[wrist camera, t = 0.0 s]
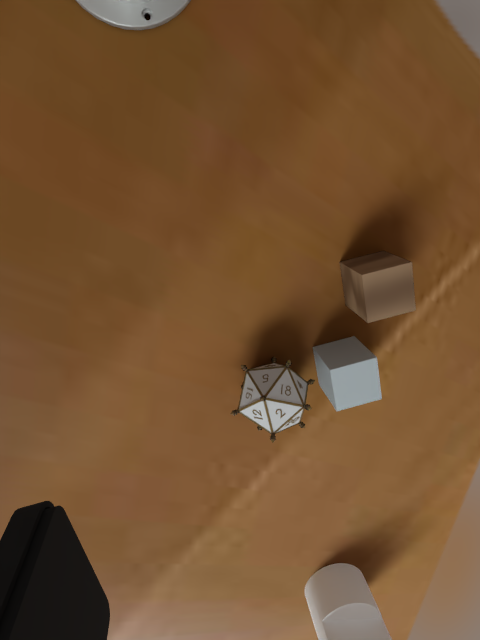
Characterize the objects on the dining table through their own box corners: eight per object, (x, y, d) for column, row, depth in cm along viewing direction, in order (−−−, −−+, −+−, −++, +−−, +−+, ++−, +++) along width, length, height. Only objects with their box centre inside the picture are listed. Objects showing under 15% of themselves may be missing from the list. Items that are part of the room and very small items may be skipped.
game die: (273, 355, 53) (343, 371, 46) (258, 424, 52) (327, 450, 45) (220, 344, 47) (293, 360, 39) (203, 422, 46) (273, 452, 39)
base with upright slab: (299, 610, 63) (326, 705, 52) (310, 564, 60) (340, 654, 49) (357, 607, 65) (395, 699, 54) (369, 561, 62) (412, 649, 51)
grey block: (312, 346, 49) (329, 370, 43) (354, 335, 49) (376, 357, 44) (319, 384, 51) (336, 411, 45) (359, 373, 51) (381, 398, 46)
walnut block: (339, 261, 46) (361, 275, 41) (383, 250, 46) (411, 262, 41) (345, 304, 48) (367, 323, 42) (387, 293, 48) (415, 310, 43)
